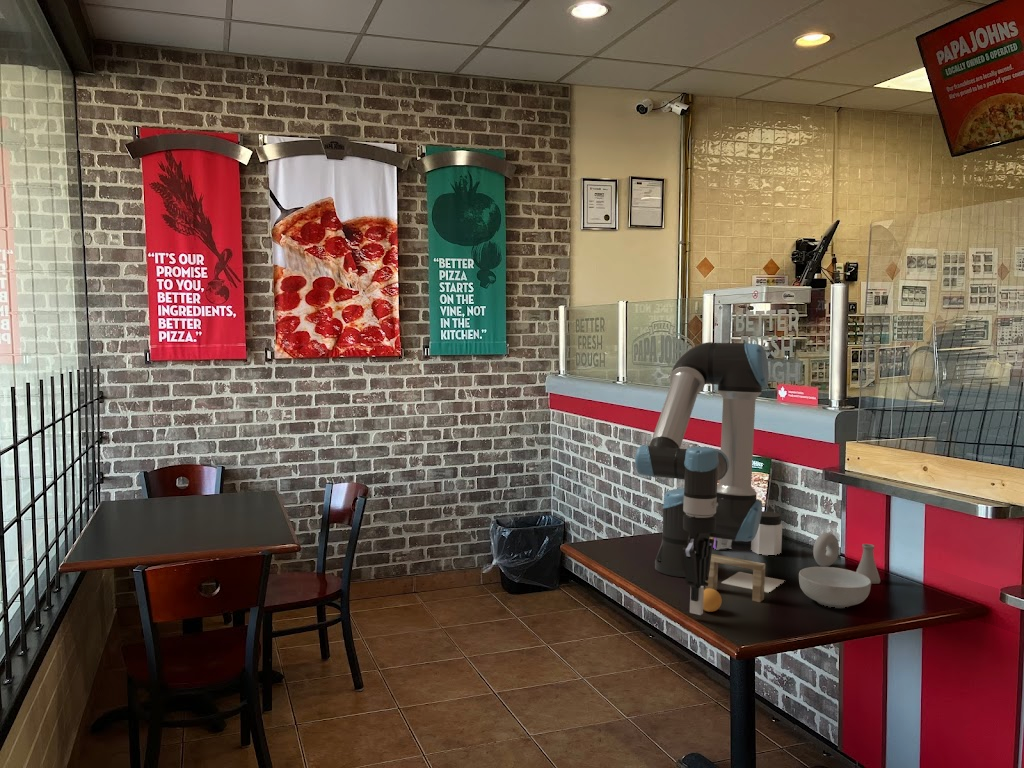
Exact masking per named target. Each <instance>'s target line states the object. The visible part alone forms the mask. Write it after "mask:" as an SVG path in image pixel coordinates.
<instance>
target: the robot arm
mask: <svg viewBox="0 0 1024 768" xmlns="http://www.w3.org/2000/svg"><path fill="white" fill-rule="evenodd" d="M769 377H770V376H769V362H768V356H767V352H766V349H765V348H764V347H763V345H762V344H758V343H749V342H744V343H743V342H712V341H710V342H703V343H700V344H698V345H695V346H694V347H691V348H690V349H689V350H687V351H686V352H685V353H684V354H683V355H682V356H681V357H679V359H678V360H677V361H676V363H675V364H674V365H673V367H672V370H671V372H670V376H669V381H670V387H669V389H668V392H667V394H666V398H665V399H664V400H665V401H664V403H663V407H662V409H661V412H660V415H659V418H658V421H657V422H656V426H655V429H654V432H653V434H652V438H651V441H650V443H649V445H648V444H646V445H640V446H639V447H638V448H637V449H636V453H635V457H634V465H635V466H634V467H635V470H636V473H638V474H639V475H640V476H647V477H652V478H666V479H667V478H668V479H678V480H683V481H684V485H683V487H680V488H674V489H671V490H668V491H667V492H665V493H664V496H663V505H662V530H661V531H662V535H661V536H662V537H661V544H660V547H659V549H658V552H657V554H656V557H655V561H654V569H655V570H656V571H657V572H659V573H661V574H664V575H667V576H672V577H679V578H685V585H686V586H688V587H690V591H689V592H690V593H689V594H690V595H689V598H690V599H689V613H690V614H693V615H694V614H695V615H698V616H701V615H703V614H704V609H703V599H704V590H705V587H704V586H708V583H707V582H706V581H708V578H709V570H710V562H711V554H713V553H712V552H713V544H714V539H710V537H712V538H720V539H728V540H732V541H735V542H748V543H749V542H751V541H752V540H753V539H754V538H755V536H756V534H757V531H758V528H759V524H760V519H761V514H762V511H763V501H762V500H761V499H757V495H758V494H757V493H758V492H757V491H756V490H755V489H754V488H753V487H752V479H753V478H752V477H753V476H752V475H753V458H754V457H753V456H754V455H753V454H754V440H755V439H754V437H755V435H754V434H755V419H756V418H755V413H756V400H757V398H758V397H760V395H761V394H762V391H763V388H766V387H768V385H769ZM705 385H717V393H718V394H719V395H720V396H722V414H721V415H722V416H721V436H720V437H721V439H720V449H716V448H714V447H708V446H691V447H688V448H681V447H682V443H683V441H684V437H685V435H686V431H687V429H688V425H689V422H690V420H691V416H692V413H693V409H694V406H695V403H696V401H697V397H698V395H699V392H701V391H703V389H704V388H705Z"/></svg>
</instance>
